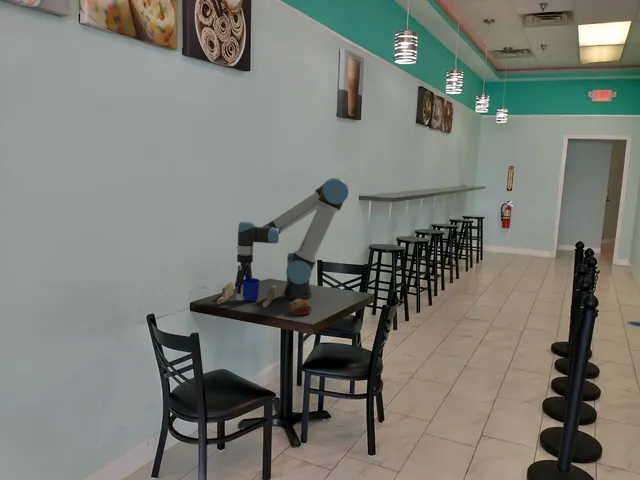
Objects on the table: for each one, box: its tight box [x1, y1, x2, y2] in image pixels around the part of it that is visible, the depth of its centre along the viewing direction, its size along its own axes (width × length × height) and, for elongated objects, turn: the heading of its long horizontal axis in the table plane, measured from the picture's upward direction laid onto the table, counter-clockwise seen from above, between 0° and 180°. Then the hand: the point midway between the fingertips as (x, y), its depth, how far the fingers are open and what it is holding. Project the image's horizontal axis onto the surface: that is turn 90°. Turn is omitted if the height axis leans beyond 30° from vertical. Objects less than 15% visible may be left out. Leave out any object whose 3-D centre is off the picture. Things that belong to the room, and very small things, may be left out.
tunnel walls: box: [221, 282, 277, 304], centre depth 260 cm, size 24×14×6 cm, turn 83°
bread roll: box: [288, 299, 313, 316], centre depth 235 cm, size 10×10×8 cm
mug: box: [234, 277, 261, 302], centre depth 255 cm, size 8×12×10 cm
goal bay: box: [216, 296, 270, 308], centre depth 249 cm, size 24×7×2 cm, turn 83°
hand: (243, 296), depth 252 cm, fingers open, 13 cm apart
